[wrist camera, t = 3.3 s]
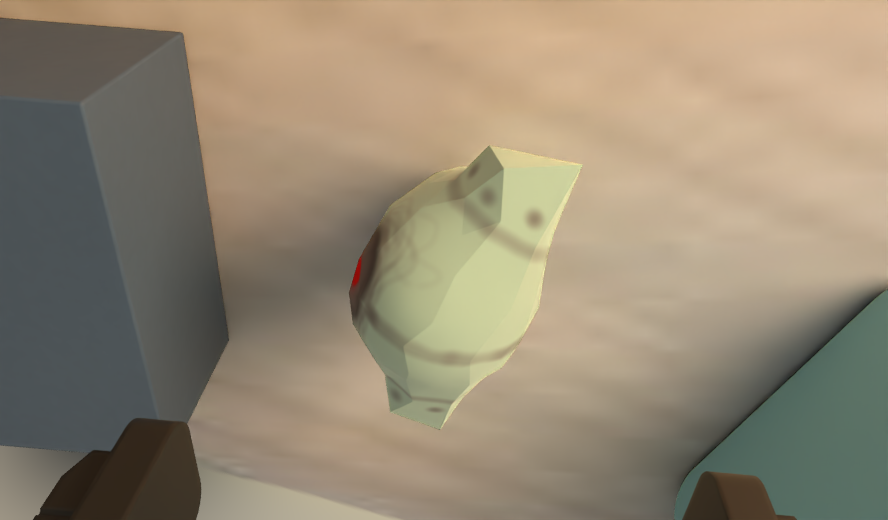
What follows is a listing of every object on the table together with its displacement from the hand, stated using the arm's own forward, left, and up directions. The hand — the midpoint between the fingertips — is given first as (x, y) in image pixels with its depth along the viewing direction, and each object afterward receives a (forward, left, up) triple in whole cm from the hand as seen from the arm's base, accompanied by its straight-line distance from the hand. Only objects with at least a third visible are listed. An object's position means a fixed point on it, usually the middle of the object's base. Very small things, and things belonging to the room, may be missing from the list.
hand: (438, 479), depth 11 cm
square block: (-12, -1, -10) cm, 16 cm away
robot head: (0, 0, -10) cm, 10 cm away
